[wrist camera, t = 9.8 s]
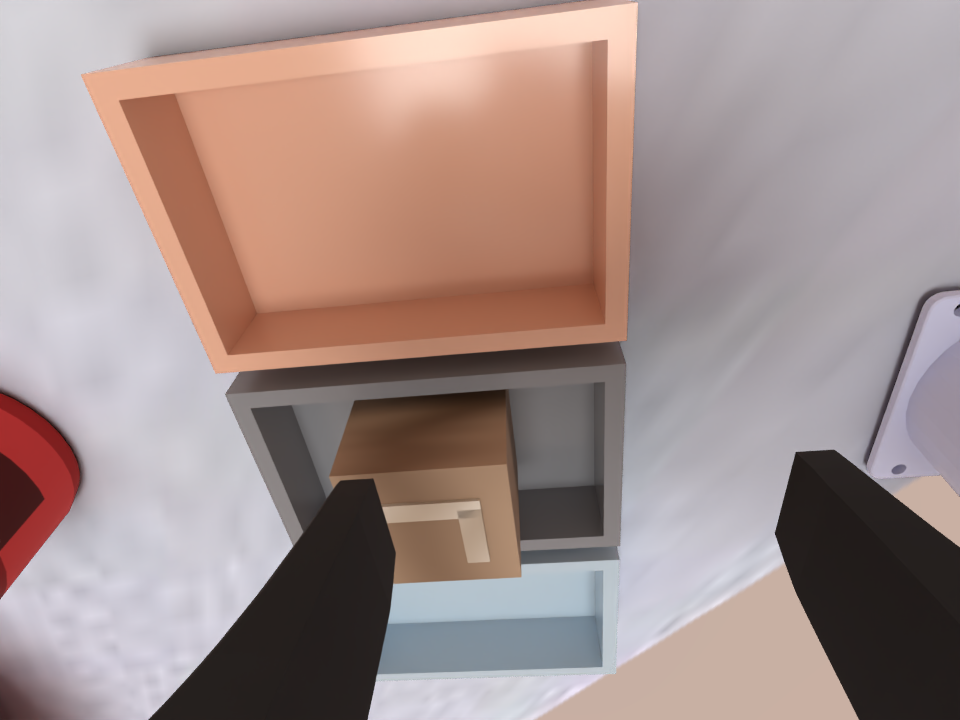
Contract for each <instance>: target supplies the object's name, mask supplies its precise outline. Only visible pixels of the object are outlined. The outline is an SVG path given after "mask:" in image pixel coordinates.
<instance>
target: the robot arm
mask: <svg viewBox="0 0 960 720" xmlns="http://www.w3.org/2000/svg"><path fill="white" fill-rule="evenodd" d="M959 304H960V290H956V291H944V292H940V293H937V294H935V295H933V296H931V297H930V298H929V299H928V300H927V301H926V302H925V304H924V305H923V307H922V310H921V313H920V316H919V319H918V321H917V324H916V327H915V330H914V333H913V335H912V338H911V341H910V344H909V347H908V350H907V352H906V355H905V358H904V361H903V364H902V366H901V369H900V372H899V375H898V378H897V381H896V383H895V386H894V389H893V392H892V395H891V397H890V400H889V403H888V406H887V409H886V411H885V414H884V417H883V420H882V423H881V426H880V428H879V431H878V434H877V437H876V440H875V442H874V445H873V448H872V451H871V454H870V456H869V459H868V462H867V466H866V468H867V470H868V471H869V473H870V474H871V475H872V477H874V478H879V479H884V478H902V477H919V476H936V475H941V476H942V477H943V478H944V479H945V480H946V482H947V483H948V484H949V485H950V486H951V487H952V488H953V490H954V491H955V492H956V493H957V494H958V495H959V497H960V307H959V308H958V309H956V310H954V309H955V308H956V307H957V306H958V305H959ZM775 535H776V538H777V541H778V544H779V547H780V550H781V553H782V556H783V559H784V562H785V565H786V567H787V570H788V572H789V575H790V578H791V580H792V584H793V586H794V589H795V591H796V594H797V596H798V598H799V600H800V602H801V604H802V606H803V608H804V610H805V612H806V614H807V616H808V618H809V620H810V622H811V625H812V626H813V629H814V630H815V633H816V635H817V636H818V639H819V641H820V643H821V645H822V647H823V649H824V651H825V653H826V655H827V656H828V659H829V660H830V663H831V665H832V667H833V669H834V671H835V673H836V675H837V677H838V678H839V680H840V683H841V684H842V686H843V689H844V690H845V693H846V694H847V696H848V698H849V700H850V702H851V704H852V706H853V708H854V710H855V712H856V714H857V716H858V718H859V720H960V547H959V546H957V545H956V544H955V543H953V542H952V541H951V540H949V539H948V538H946V537H945V536H944V535H943V534H941V533H940V532H939V531H937V530H936V529H935V528H934V527H932V526H931V525H930V524H928V523H927V522H926V521H924V520H923V519H922V518H921V517H919V516H918V515H917V514H916V513H914V512H913V511H912V510H910V509H909V508H908V507H907V506H905V505H904V504H903V503H901V502H900V501H899V500H898V499H896V498H895V497H894V496H893V495H891V494H890V493H889V492H888V491H886V490H885V489H884V488H883V487H881V486H880V485H879V484H878V483H876V482H875V481H874V480H873V479H871V478H870V477H869V476H867V475H866V474H865V473H864V472H862V471H861V470H860V469H859V468H857V467H856V466H855V465H854V464H852V463H851V462H850V461H848V460H847V459H846V458H845V457H843V456H842V455H841V454H839V453H838V452H837V451H835V450H822V451H806V452H796V454H795V458H794V461H793V465H792V469H791V473H790V477H789V481H788V485H787V489H786V492H785V496H784V500H783V504H782V508H781V512H780V516H779V520H778V523H777V527H776V531H775ZM395 558H396V551H395V548H394V545H393V541H392V538H391V535H390V531H389V528H388V525H387V521H386V518H385V515H384V512H383V508H382V505H381V502H380V498H379V495H378V492H377V488H376V485H375V482H374V478H371V479H355V480H340V481H339V482H338V483H337V484H336V486H335V487H334V489H333V490H332V491H331V493H330V494H329V496H328V497H327V499H326V500H325V502H324V503H323V505H322V506H321V507H320V509H319V510H318V512H317V513H316V515H315V516H314V518H313V519H312V521H311V522H310V523H309V525H308V526H307V528H306V529H305V531H304V532H303V533H302V535H301V536H300V538H299V539H298V541H297V542H296V543H295V545H294V546H293V548H292V549H291V550H290V552H289V553H288V554H287V556H286V557H285V559H284V560H283V561H282V563H281V564H280V565H279V567H278V568H277V569H276V571H275V572H274V573H273V575H272V576H271V577H270V579H269V580H268V581H267V583H266V584H265V586H264V587H263V588H262V589H261V591H260V592H259V593H258V595H257V596H256V597H255V598H254V600H253V601H252V602H251V603H250V605H249V606H248V607H247V608H246V610H245V611H244V612H243V613H242V615H241V616H240V617H239V618H238V620H237V621H236V622H235V623H234V624H233V626H232V627H231V628H230V629H229V631H228V632H227V633H226V634H225V636H224V637H223V638H222V639H221V640H220V642H219V643H218V644H217V645H216V646H215V648H214V649H213V650H212V651H211V652H210V653H209V654H208V656H207V657H206V658H205V659H204V660H203V661H202V663H201V664H200V665H199V666H198V667H197V668H196V669H195V670H194V672H193V673H192V674H191V675H190V676H189V677H188V678H187V679H186V680H185V681H184V683H183V684H182V685H181V686H180V687H179V688H178V689H177V690H176V691H175V692H174V693H173V695H172V696H171V697H170V698H169V699H168V700H167V701H166V702H165V703H164V704H163V705H162V706H161V707H160V708H159V709H158V710H157V711H156V712H155V713H154V714H153V716H152V717H151V718H150V719H149V720H367V719H368V715H369V710H370V705H371V700H372V696H373V691H374V686H375V682H376V677H377V672H378V668H379V663H380V658H381V653H382V649H383V644H384V639H385V634H386V629H387V624H388V619H389V614H390V609H391V600H392V591H393V581H394V569H395Z"/></svg>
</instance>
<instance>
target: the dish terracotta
mask: <svg viewBox="0 0 960 720" xmlns="http://www.w3.org/2000/svg"><path fill="white" fill-rule="evenodd" d="M637 12H638V3H637V2H633V1H629V0H585V1H577V2H569V3H562V4H554V5H546V6H539V7H531V8H524V9H516V10H508V11H501V12H493V13H485V14H478V15H470V16H462V17H455V18H447V19H439V20H432V21H424V22H416V23H409V24H401V25H393V26H386V27H378V28H370V29H363V30H355V31H347V32H340V33H332V34H324V35H317V36H309V37H301V38H294V39H286V40H278V41H271V42H263V43H256V44H248V45H240V46H233V47H225V48H217V49H210V50H202V51H194V52H187V53H179V54H171V55H164V56H156V57H148V58H144V59H141V60H137V61H133V62H129V63H125V64H121V65H117V66H113V67H109V68H105V69H101V70H97V71H93V72H89V73H85V74H81V76H82V78H83V80H84V83H85V85H86V87H87V89H88V92H89V94H90V96H91V98H92V100H93V103H94V105H95V107H96V109H97V111H98V114H99V116H100V118H101V120H102V123H103V125H104V127H105V129H106V131H107V134H108V136H109V138H110V140H111V143H112V145H113V147H114V149H115V151H116V154H117V156H118V158H119V160H120V162H121V165H122V167H123V169H124V171H125V174H126V176H127V178H128V180H129V182H130V185H131V187H132V189H133V191H134V193H135V196H136V198H137V200H138V202H139V205H140V207H141V209H142V211H143V213H144V216H145V218H146V220H147V222H148V225H149V227H150V229H151V231H152V233H153V236H154V238H155V240H156V242H157V244H158V247H159V249H160V251H161V253H162V256H163V258H164V260H165V262H166V264H167V267H168V269H169V271H170V273H171V275H172V278H173V280H174V282H175V284H176V287H177V289H178V291H179V293H180V295H181V298H182V300H183V302H184V304H185V307H186V309H187V311H188V313H189V315H190V318H191V320H192V322H193V324H194V326H195V329H196V331H197V333H198V335H199V338H200V340H201V342H202V344H203V346H204V349H205V351H206V353H207V355H208V358H209V360H210V362H211V364H212V366H213V369H214V371H215V373H228V372H241V371H253V370H266V369H278V368H291V367H303V366H316V365H328V364H341V363H353V362H366V361H378V360H391V359H403V358H416V357H428V356H441V355H453V354H466V353H478V352H491V351H503V350H516V349H528V348H541V347H553V346H566V345H578V344H591V343H603V342H616V341H627V318H628V287H629V257H630V226H631V195H632V165H633V134H634V104H635V73H636V43H637Z"/></svg>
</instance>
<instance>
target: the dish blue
mask: <svg viewBox="0 0 960 720" xmlns="http://www.w3.org/2000/svg"><path fill="white" fill-rule="evenodd" d="M619 562H620V559H619V555H618V550H617V546H611V547H591V548H571V549H551V550H531V551H521V575H522V577H519V578H499V579H480V580H460V581H441V582H422V583H402V584H393V591H392V600H391V609H390V614H389V619H388V624H387V629H386V634H385V639H384V644H383V649H382V653H381V658H380V663H379V668H378V672H377V677H376V681H400V680H432V679H464V678H496V677H528V676H559V675H591V674H616V653H617V623H618V592H619Z"/></svg>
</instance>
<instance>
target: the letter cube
mask: <svg viewBox="0 0 960 720" xmlns="http://www.w3.org/2000/svg"><path fill="white" fill-rule="evenodd" d="M329 478H330V481H331V483H332V486H333V489H334V487H335V486H336V484H337V483H338V482H339V481H340V480H355V479H371V478H374V482H375V485H376V488H377V492H378V495H379V498H380V502H381V505H382V508H383V512H384V515H385V518H386V521H387V525H388V528H389V531H390V535H391V538H392V541H393V545H394V548H395V551H396V558H395V569H394V581H393V584H402V583H422V582H441V581H460V580H480V579H499V578H519V577H522V575H521V547H520V520H519V493H518V466H517V458H516V449H515V441H514V432H513V424H512V416H511V407H510V399H509V390H508V389H503V390H489V391H476V392H463V393H449V394H436V395H422V396H409V397H395V398H382V399H368V400H355V401H354V403H353V406H352V409H351V412H350V415H349V418H348V421H347V424H346V427H345V430H344V433H343V436H342V439H341V442H340V445H339V448H338V451H337V454H336V457H335V460H334V463H333V466H332V469H331V472H330V475H329Z"/></svg>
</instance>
